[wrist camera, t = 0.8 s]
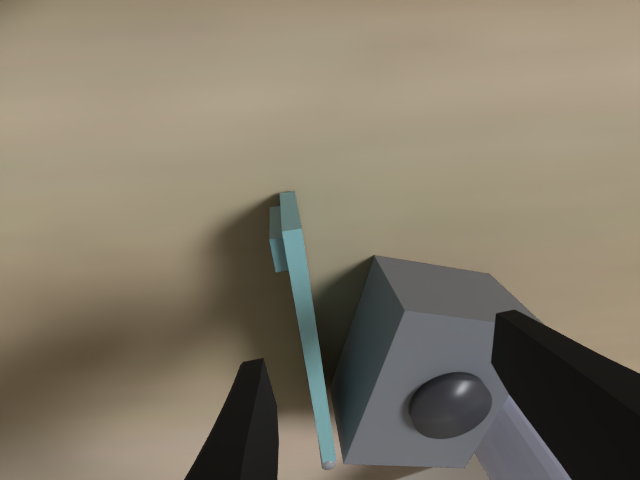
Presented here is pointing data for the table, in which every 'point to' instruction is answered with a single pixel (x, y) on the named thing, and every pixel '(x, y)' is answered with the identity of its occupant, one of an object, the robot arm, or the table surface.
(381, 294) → the block
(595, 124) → the table surface
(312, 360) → the door
